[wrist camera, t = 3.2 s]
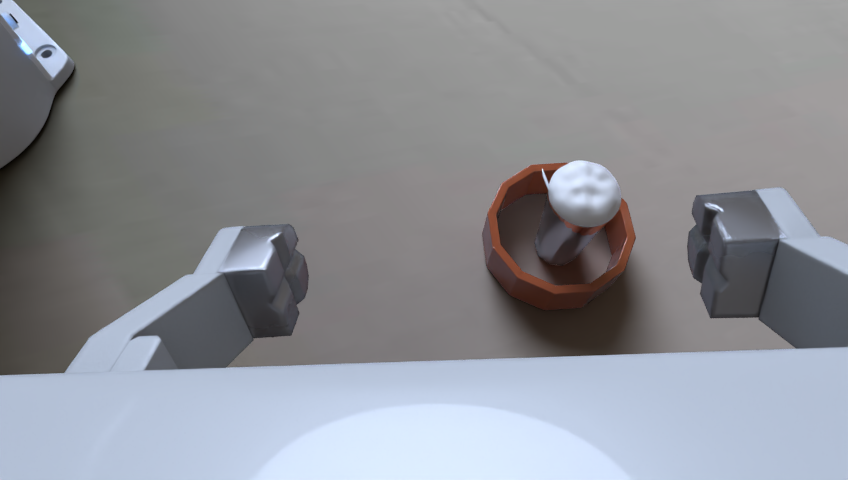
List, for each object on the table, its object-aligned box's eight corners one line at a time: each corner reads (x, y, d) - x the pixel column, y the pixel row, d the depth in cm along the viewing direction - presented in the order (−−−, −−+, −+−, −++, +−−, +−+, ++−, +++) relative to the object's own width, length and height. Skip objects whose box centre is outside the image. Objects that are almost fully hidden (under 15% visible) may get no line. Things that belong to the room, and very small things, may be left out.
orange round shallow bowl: (456, 229, 45) (460, 207, 42) (558, 166, 48) (568, 141, 45) (541, 336, 42) (552, 321, 39) (645, 261, 44) (663, 242, 41)
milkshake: (516, 214, 46) (543, 139, 37) (586, 222, 46) (630, 149, 37) (513, 269, 44) (540, 204, 35) (586, 277, 44) (633, 215, 35)
